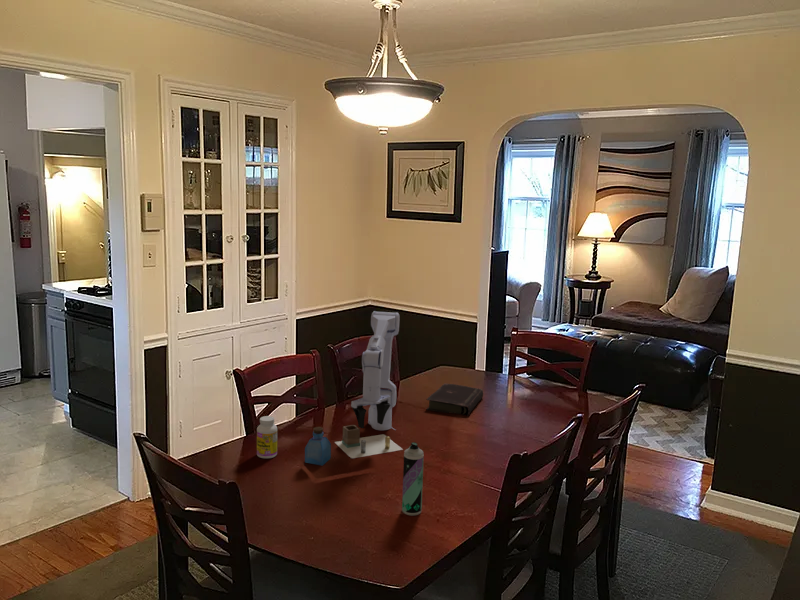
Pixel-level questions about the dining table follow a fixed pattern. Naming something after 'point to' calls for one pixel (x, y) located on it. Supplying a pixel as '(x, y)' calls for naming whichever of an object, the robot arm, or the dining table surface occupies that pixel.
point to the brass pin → (387, 442)
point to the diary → (454, 399)
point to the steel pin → (363, 446)
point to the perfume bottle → (318, 448)
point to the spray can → (412, 480)
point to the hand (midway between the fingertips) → (370, 425)
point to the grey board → (369, 447)
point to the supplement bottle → (267, 438)
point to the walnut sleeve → (351, 436)
